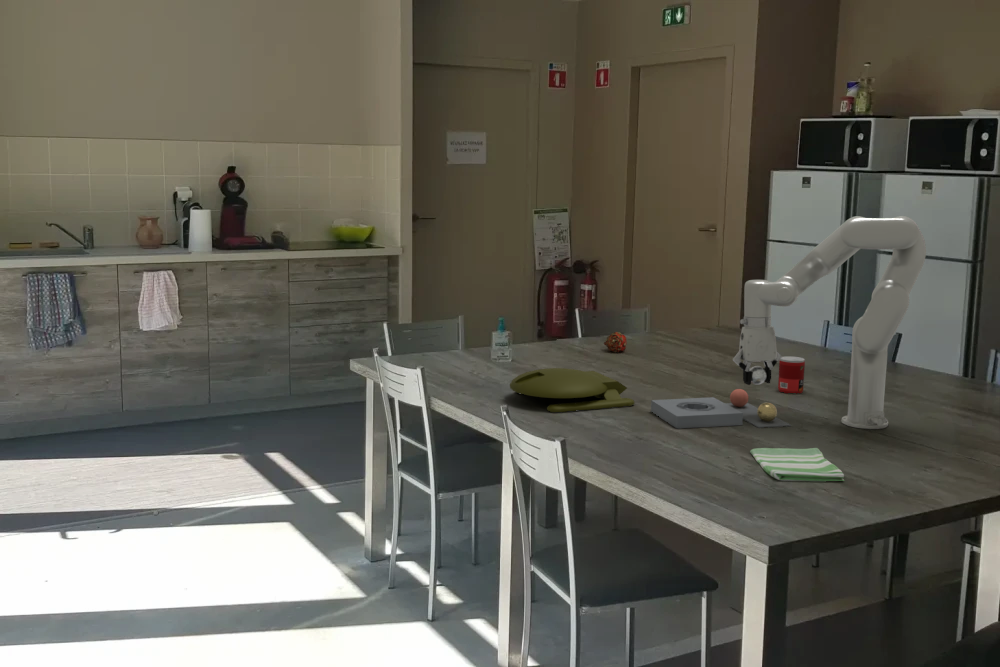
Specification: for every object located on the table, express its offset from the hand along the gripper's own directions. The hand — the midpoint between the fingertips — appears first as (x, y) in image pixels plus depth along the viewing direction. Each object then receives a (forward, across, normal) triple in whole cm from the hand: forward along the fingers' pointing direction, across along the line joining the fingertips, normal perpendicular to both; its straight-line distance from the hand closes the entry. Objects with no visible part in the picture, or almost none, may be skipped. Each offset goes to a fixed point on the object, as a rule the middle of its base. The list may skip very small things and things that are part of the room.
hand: (757, 382), depth 299 cm
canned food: (+10, +26, +28) cm, 39 cm away
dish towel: (+11, -14, -49) cm, 53 cm away
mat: (+10, -1, +1) cm, 10 cm away
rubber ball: (+7, -1, +10) cm, 12 cm away
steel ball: (-2, 0, 0) cm, 2 cm away
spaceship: (+8, -50, +31) cm, 59 cm away
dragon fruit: (+8, -7, +107) cm, 107 cm away
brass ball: (+7, -1, -8) cm, 11 cm away
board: (+9, -19, +1) cm, 21 cm away
